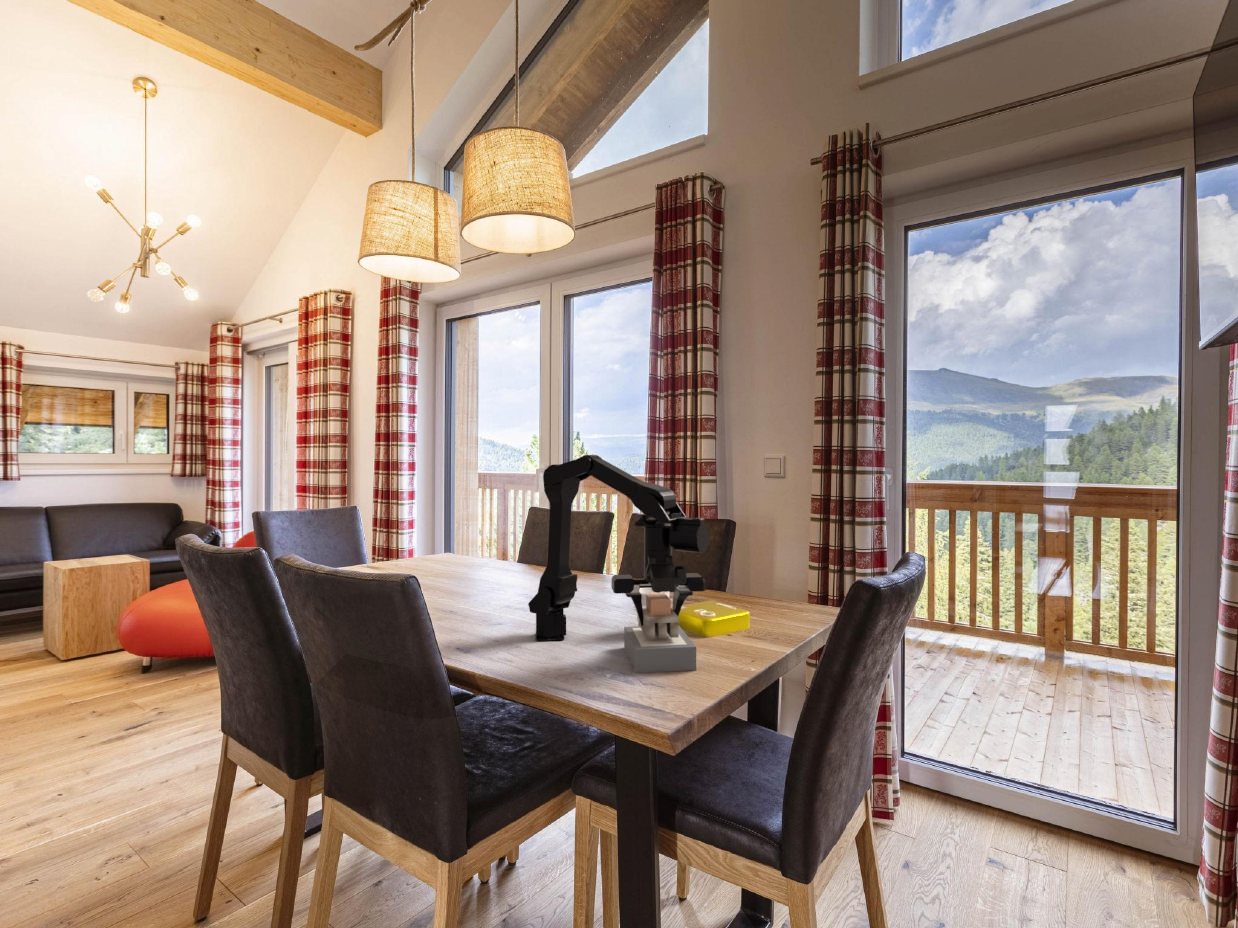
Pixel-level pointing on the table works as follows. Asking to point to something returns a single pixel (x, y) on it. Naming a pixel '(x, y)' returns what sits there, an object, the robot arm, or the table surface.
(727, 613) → the element tile
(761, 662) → the table surface
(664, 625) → the grey slotted block
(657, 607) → the orange block
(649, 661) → the dock
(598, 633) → the table surface
